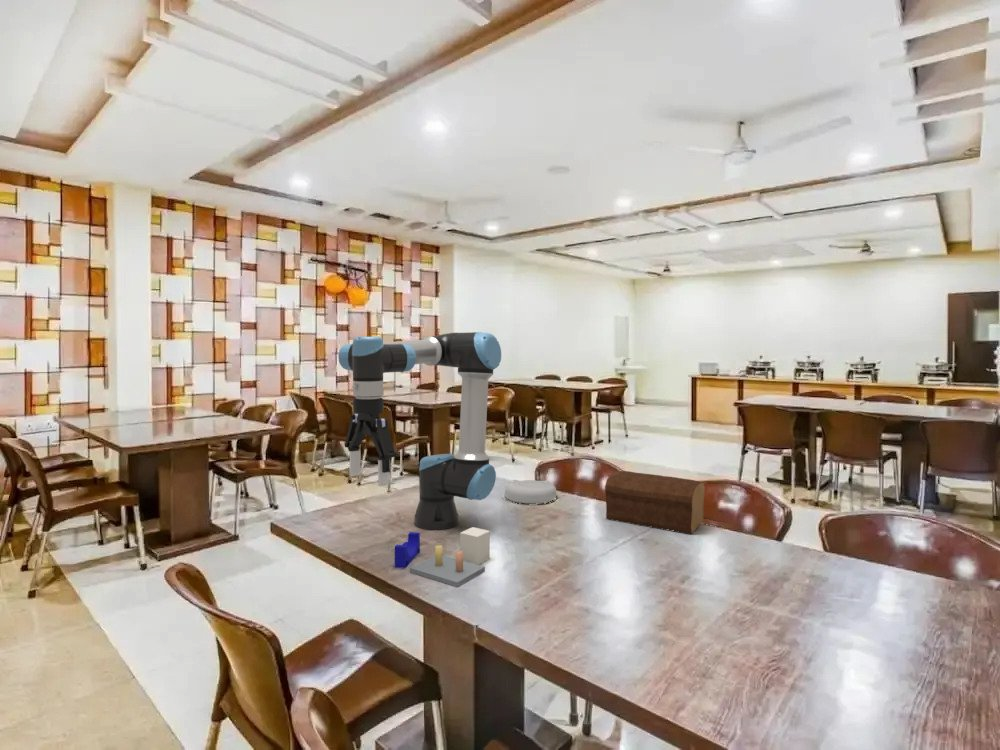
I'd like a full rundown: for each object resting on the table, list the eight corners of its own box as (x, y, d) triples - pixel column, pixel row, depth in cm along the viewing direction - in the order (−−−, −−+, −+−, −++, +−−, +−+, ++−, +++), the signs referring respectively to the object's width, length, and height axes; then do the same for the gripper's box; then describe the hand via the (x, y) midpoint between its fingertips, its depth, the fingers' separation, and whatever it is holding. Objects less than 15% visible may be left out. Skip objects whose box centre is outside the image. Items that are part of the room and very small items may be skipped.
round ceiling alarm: (494, 505, 214) (494, 489, 214) (504, 489, 239) (504, 474, 238) (560, 509, 210) (560, 493, 210) (563, 492, 234) (563, 477, 234)
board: (438, 558, 160) (438, 536, 160) (484, 571, 151) (485, 548, 151) (409, 572, 150) (409, 549, 150) (457, 587, 141) (457, 562, 141)
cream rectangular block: (472, 554, 163) (472, 527, 163) (489, 558, 160) (489, 530, 159) (459, 560, 158) (460, 532, 158) (477, 565, 155) (477, 536, 154)
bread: (691, 536, 180) (692, 487, 179) (603, 520, 196) (604, 474, 195) (704, 522, 195) (705, 476, 194) (622, 507, 211) (623, 465, 210)
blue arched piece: (405, 551, 165) (405, 531, 165) (419, 552, 164) (419, 532, 164) (389, 567, 153) (389, 546, 153) (405, 569, 153) (405, 547, 152)
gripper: (330, 394, 149) (331, 473, 150) (382, 402, 131) (383, 492, 133) (355, 393, 154) (356, 469, 156) (409, 400, 136) (409, 486, 138)
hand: (369, 480), depth 144 cm, fingers open, 13 cm apart
